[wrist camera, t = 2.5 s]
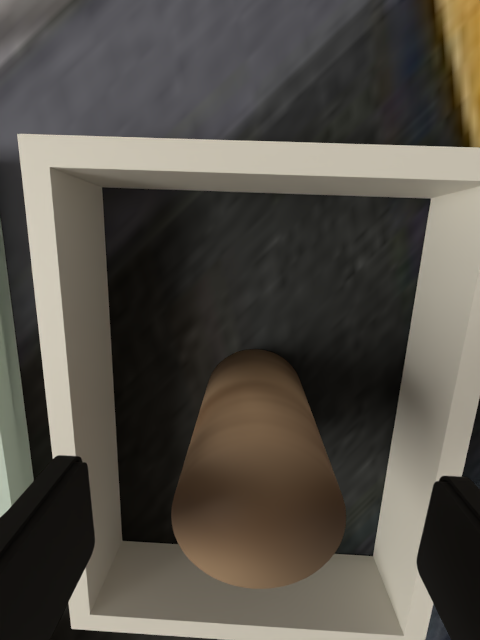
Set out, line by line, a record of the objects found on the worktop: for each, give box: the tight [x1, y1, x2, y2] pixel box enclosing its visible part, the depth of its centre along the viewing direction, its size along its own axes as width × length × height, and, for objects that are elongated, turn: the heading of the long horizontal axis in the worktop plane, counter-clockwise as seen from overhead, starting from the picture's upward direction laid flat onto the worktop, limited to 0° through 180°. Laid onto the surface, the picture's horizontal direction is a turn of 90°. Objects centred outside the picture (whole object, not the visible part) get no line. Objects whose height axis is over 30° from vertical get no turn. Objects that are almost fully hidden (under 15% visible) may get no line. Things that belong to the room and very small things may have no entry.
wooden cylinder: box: [171, 349, 346, 589], centre depth 13 cm, size 5×5×8 cm
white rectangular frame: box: [17, 134, 480, 640], centre depth 15 cm, size 22×17×4 cm
